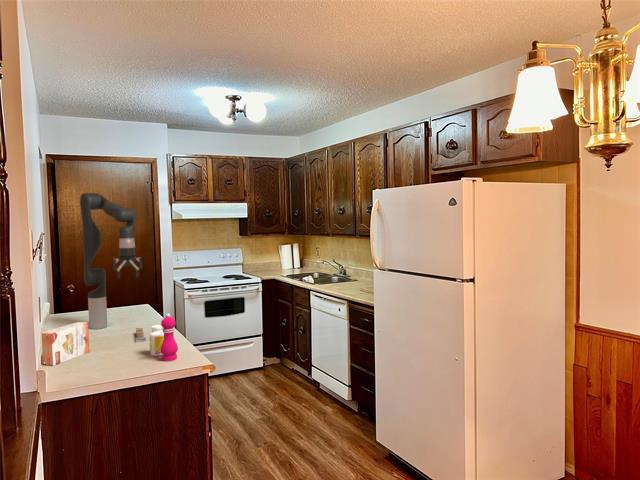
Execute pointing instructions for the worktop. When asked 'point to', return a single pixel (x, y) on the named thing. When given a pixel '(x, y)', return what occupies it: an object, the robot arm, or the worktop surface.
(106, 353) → the worktop surface
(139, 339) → the tan flat bar
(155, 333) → the supplement bottle
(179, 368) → the worktop surface
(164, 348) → the pepper mill
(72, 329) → the cracker box
